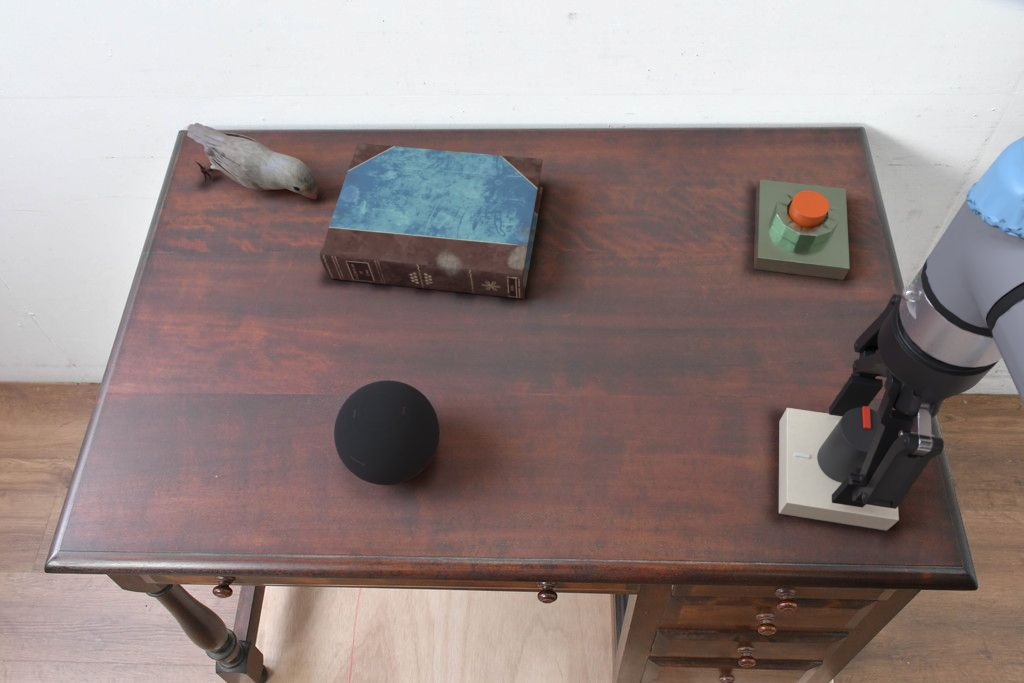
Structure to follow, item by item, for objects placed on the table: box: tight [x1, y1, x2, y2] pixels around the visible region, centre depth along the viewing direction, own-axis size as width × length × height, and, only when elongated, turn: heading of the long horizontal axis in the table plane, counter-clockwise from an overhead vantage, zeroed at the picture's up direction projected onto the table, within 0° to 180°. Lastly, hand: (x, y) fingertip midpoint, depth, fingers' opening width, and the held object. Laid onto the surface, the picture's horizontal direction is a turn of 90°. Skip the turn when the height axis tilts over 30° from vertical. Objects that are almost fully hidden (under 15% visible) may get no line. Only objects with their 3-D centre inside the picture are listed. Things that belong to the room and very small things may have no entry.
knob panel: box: [778, 407, 900, 531], centre depth 77 cm, size 10×10×3 cm
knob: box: [817, 406, 880, 483], centre depth 72 cm, size 4×4×7 cm
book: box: [319, 142, 544, 299], centre depth 94 cm, size 23×18×5 cm
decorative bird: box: [186, 122, 318, 200], centre depth 98 cm, size 5×16×8 cm, turn 70°
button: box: [789, 191, 829, 227], centre depth 90 cm, size 4×4×2 cm
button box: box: [753, 179, 851, 281], centre depth 92 cm, size 12×10×4 cm
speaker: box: [333, 380, 440, 486], centre depth 76 cm, size 10×10×10 cm
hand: (845, 455), depth 74 cm, fingers open, 8 cm apart
